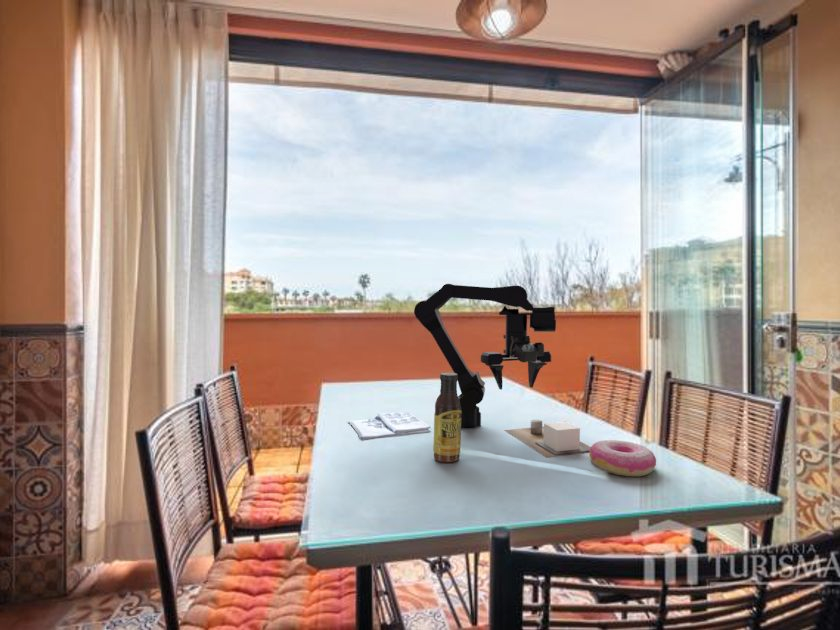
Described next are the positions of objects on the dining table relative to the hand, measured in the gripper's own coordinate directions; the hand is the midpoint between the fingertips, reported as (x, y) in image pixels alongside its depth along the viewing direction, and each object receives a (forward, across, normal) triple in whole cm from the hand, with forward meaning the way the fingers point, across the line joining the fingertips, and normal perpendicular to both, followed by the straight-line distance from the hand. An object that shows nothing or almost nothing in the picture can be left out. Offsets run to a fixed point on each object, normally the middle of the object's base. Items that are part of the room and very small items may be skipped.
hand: (515, 388), depth 131 cm
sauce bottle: (+12, -25, -15) cm, 32 cm away
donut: (+12, +10, -31) cm, 35 cm away
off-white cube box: (+11, +3, -18) cm, 21 cm away
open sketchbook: (+13, -33, +15) cm, 38 cm away
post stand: (+12, +3, -12) cm, 17 cm away
